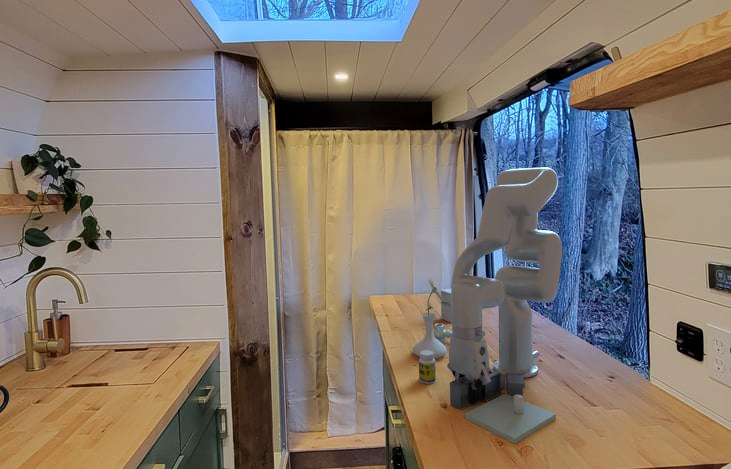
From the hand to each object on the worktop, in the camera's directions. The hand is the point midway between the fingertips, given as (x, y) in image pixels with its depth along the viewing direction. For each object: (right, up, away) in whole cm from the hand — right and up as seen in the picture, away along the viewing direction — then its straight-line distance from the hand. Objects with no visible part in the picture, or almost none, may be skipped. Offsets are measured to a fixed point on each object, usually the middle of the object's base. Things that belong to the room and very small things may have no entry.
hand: (468, 398), depth 115 cm
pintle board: (+9, -1, -8) cm, 12 cm away
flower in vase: (-5, +2, +33) cm, 34 cm away
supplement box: (+10, +7, +70) cm, 71 cm away
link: (+3, 0, +3) cm, 4 cm away
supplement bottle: (-9, 0, +13) cm, 16 cm away
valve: (+4, +4, +44) cm, 44 cm away
